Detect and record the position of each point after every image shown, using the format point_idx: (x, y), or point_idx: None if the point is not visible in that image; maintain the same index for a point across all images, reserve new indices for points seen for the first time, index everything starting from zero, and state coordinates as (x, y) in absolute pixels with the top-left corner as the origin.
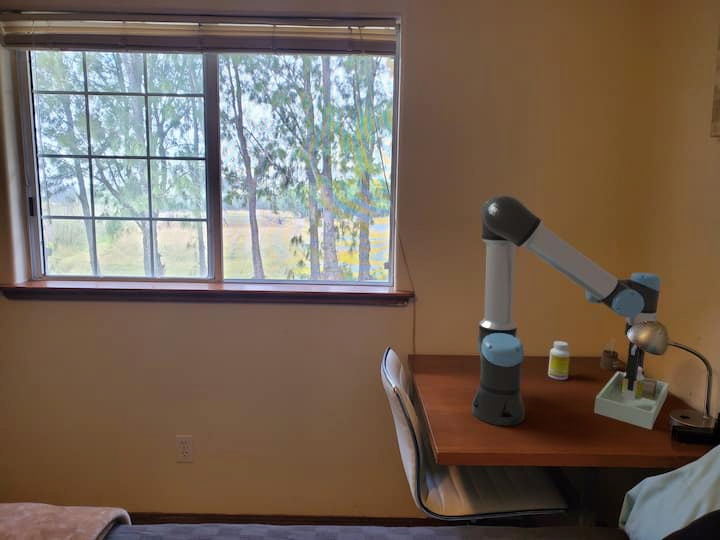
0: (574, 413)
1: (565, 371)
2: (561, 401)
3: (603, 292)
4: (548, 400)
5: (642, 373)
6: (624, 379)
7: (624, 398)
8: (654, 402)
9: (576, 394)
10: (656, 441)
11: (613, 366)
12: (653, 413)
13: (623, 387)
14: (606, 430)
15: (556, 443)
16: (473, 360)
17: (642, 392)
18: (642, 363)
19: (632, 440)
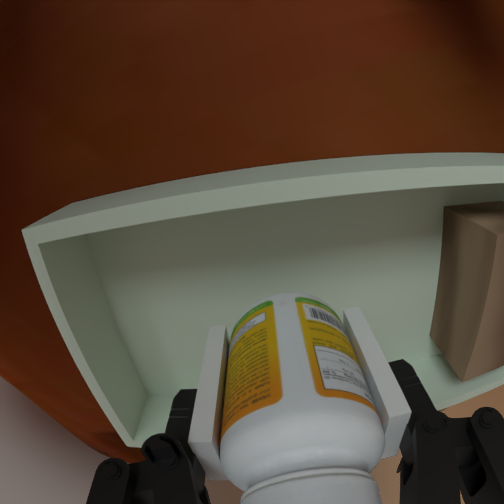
0: (6, 154)
1: None
2: (65, 38)
3: None
4: (37, 9)
5: (399, 465)
6: (243, 397)
7: (210, 327)
8: (409, 348)
9: (221, 22)
10: (90, 409)
11: None
12: (128, 445)
13: (246, 344)
14: (7, 297)
15: None
16: None
17: (448, 312)
18: (464, 500)
19: (33, 365)
